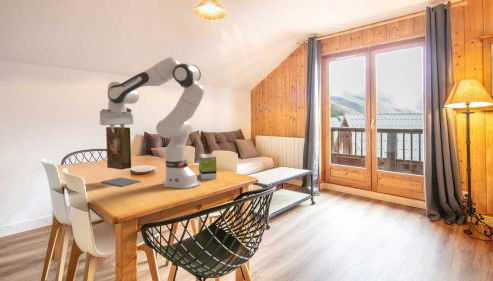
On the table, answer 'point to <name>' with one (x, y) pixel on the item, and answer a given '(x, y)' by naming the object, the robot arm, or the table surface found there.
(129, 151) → the book
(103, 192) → the table surface
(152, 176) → the table surface
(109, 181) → the mat
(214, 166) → the tea box
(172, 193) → the table surface
